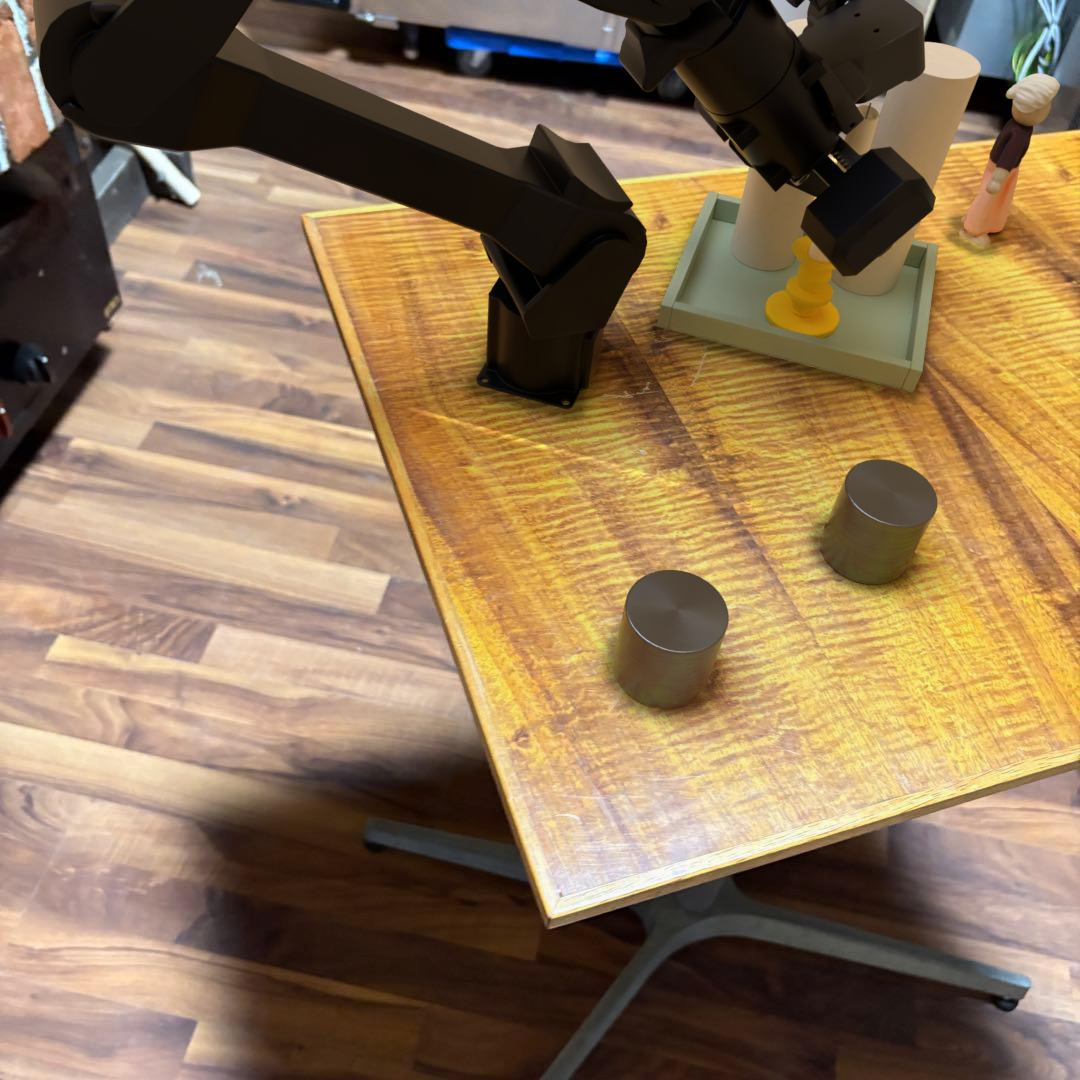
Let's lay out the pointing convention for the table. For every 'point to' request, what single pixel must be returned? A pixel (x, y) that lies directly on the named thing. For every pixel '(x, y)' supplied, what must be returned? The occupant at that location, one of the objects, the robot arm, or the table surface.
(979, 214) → the grandmother figurine
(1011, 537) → the table surface
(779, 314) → the candle
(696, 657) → the grey tins
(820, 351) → the tray
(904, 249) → the cream candles
